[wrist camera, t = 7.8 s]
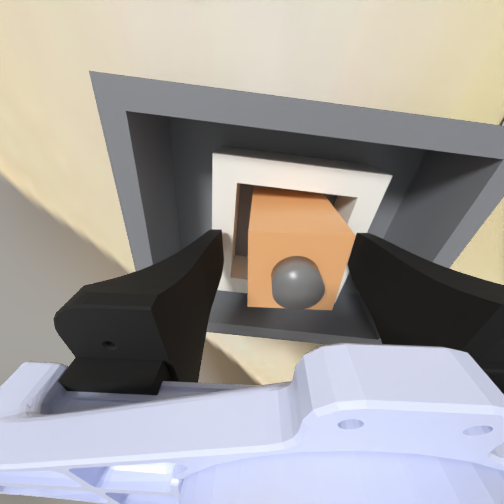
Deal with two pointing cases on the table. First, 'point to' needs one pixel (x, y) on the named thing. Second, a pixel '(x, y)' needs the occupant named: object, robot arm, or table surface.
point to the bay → (290, 184)
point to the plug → (295, 250)
